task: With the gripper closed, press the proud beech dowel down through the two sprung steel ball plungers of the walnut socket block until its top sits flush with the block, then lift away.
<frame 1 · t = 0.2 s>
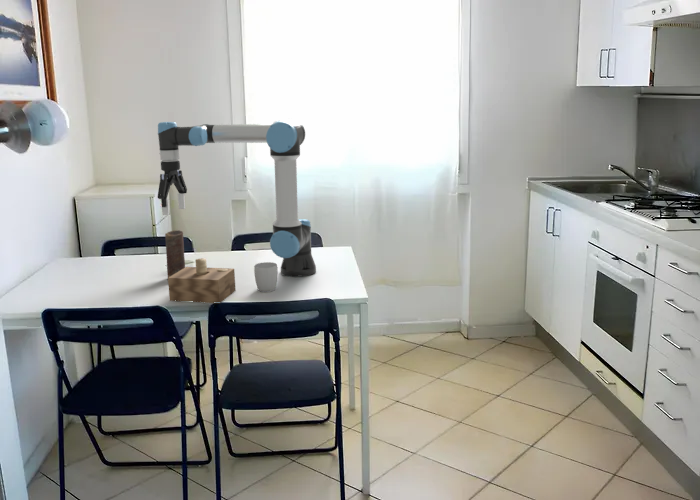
hand: (174, 211, 280), 28 cm above the table, fingers open, 13 cm apart
beech dowel: (202, 282, 258), point 5 cm above the table, touching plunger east, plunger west
mug: (266, 288, 267), on the table
brown cylindrical vase: (177, 279, 283), on the table
socket block: (203, 295, 259), on the table
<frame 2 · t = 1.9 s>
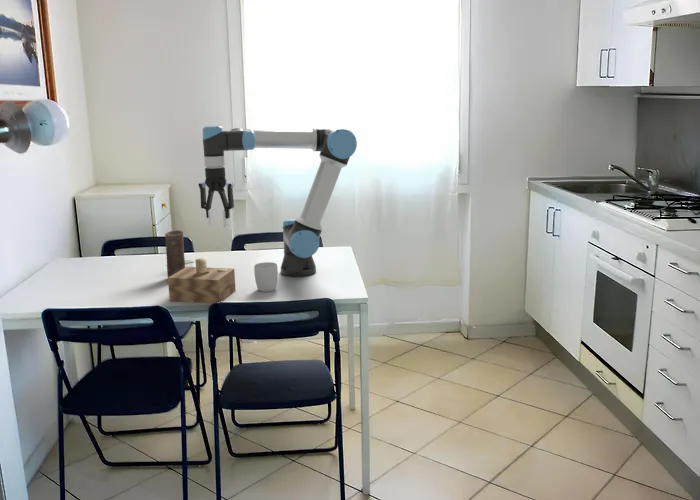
hand: (218, 226, 264), 25 cm above the table, fingers open, 5 cm apart
nothing on the table moved.
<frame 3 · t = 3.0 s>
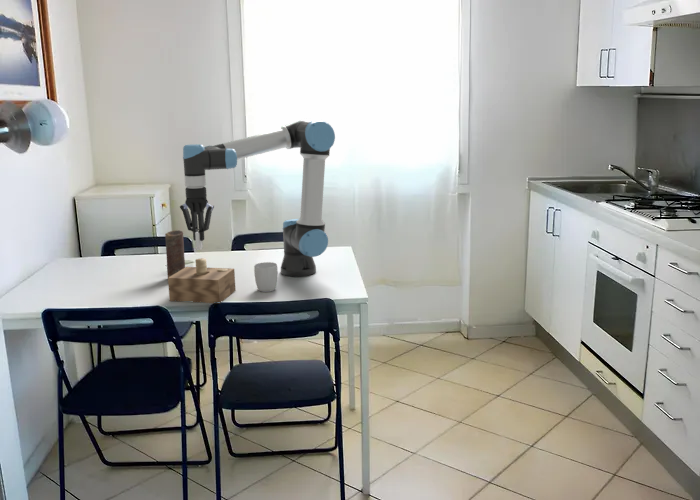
hand: (199, 248, 255), 18 cm above the table, fingers closed
nothing on the table moved.
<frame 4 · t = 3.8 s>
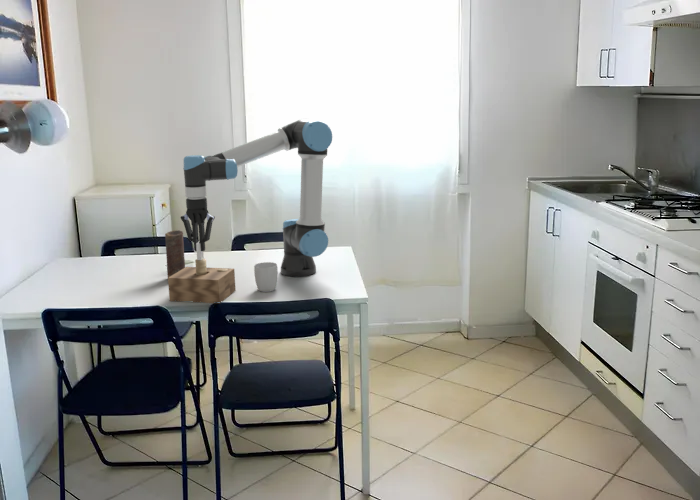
hand: (200, 259, 255), 14 cm above the table, fingers closed
beech dowel: (201, 282, 258), point 5 cm above the table, touching gripper, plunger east
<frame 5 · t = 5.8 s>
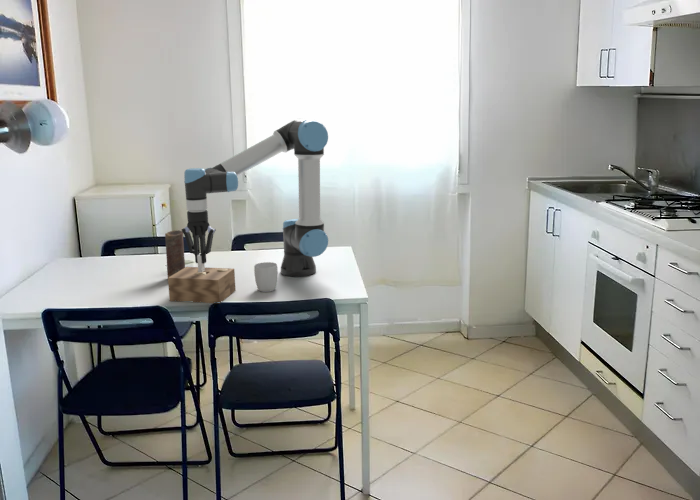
hand: (201, 271, 256), 10 cm above the table, fingers closed
beech dowel: (202, 295, 259), resting in socket block
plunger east: (192, 284, 259), point 4 cm above the table, slide at 0.9 cm
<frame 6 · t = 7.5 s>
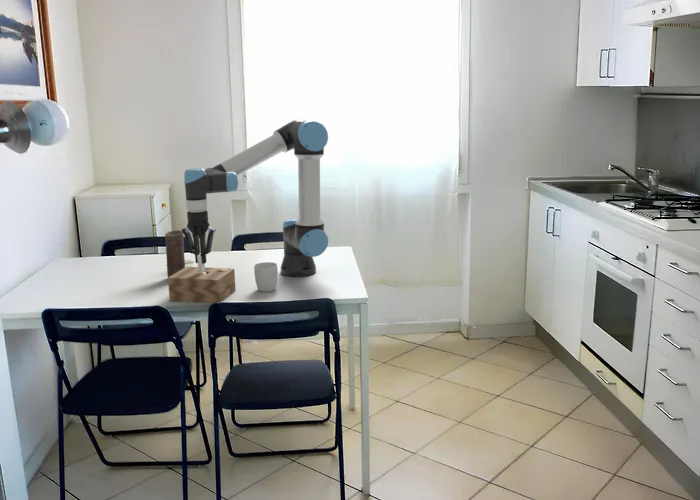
hand: (201, 271, 256), 10 cm above the table, fingers closed
nothing on the table moved.
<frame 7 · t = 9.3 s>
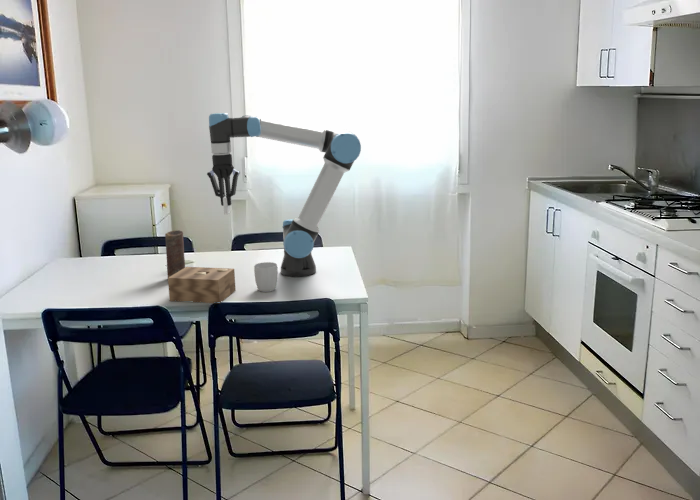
hand: (227, 213, 267), 29 cm above the table, fingers closed
nothing on the table moved.
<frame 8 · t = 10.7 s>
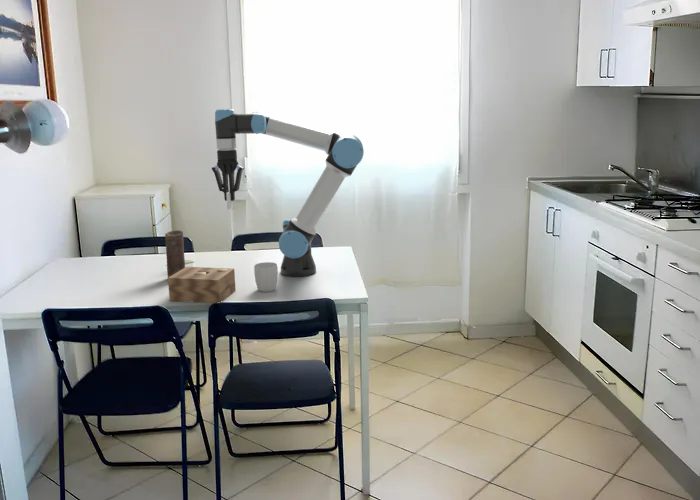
hand: (230, 208, 270), 30 cm above the table, fingers closed
nothing on the table moved.
at the end: beech dowel resting in socket block; beech dowel 0.4 cm from the socket block (horizontally); beech dowel tilted 0° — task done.
